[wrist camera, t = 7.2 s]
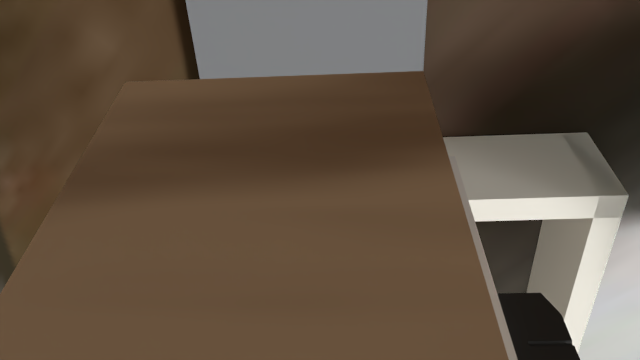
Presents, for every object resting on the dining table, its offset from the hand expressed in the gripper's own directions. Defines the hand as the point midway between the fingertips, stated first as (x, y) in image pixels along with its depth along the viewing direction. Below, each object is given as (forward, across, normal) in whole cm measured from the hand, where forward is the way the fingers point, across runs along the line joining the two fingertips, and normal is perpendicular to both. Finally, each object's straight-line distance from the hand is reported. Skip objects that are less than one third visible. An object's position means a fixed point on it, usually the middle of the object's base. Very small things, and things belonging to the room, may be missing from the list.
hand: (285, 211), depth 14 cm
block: (0, 0, 0) cm, 0 cm away
